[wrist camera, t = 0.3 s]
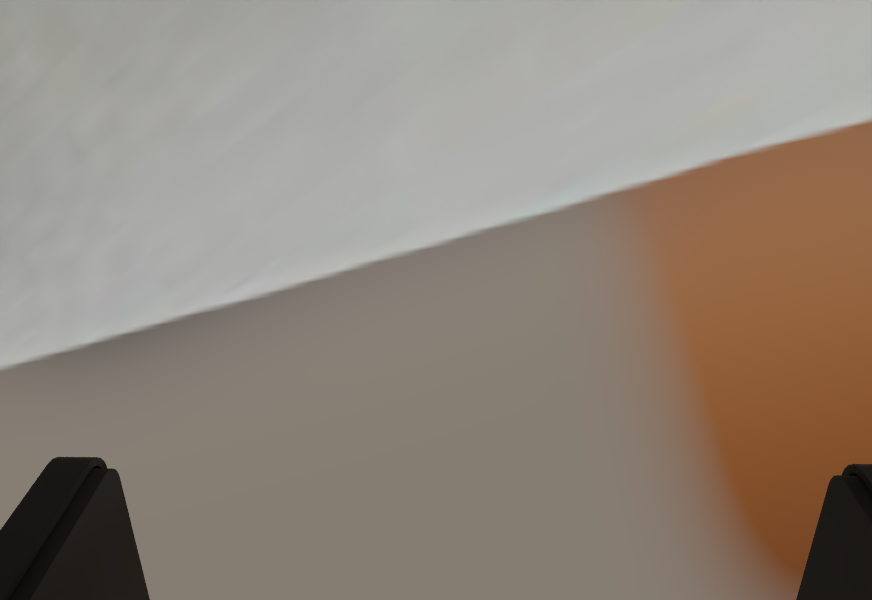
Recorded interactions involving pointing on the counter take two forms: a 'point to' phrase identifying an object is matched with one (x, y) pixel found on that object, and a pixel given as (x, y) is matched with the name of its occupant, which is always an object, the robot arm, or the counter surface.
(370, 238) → the counter surface
